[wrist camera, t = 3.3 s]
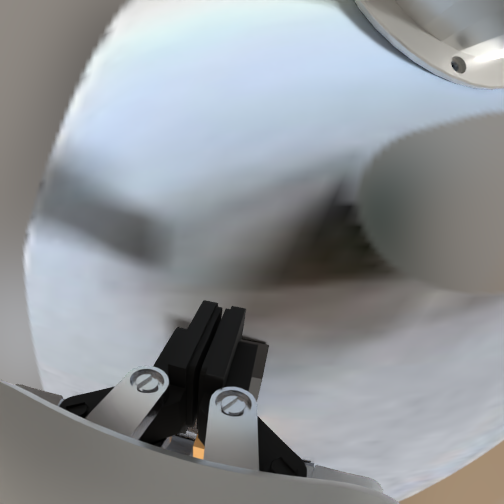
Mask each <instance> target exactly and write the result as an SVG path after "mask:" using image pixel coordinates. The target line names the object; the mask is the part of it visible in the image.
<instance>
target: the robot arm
mask: <svg viewBox="0 0 504 504" xmlns="http://www.w3.org/2000/svg"><path fill="white" fill-rule="evenodd" d="M354 1H355V3H356V4H357V6H358V8H359V9H360V11H361V12H362V13H363V14H364V15H365V16H366V18H367V19H368V20H369V21H370V23H371V24H372V25H373V26H374V28H375V29H376V30H377V31H378V32H380V33H381V34H382V35H383V36H384V37H385V38H386V39H387V40H388V41H389V42H390V43H391V44H392V45H393V46H394V47H395V48H397V49H398V50H399V51H401V52H402V53H403V54H405V55H406V56H407V57H408V58H410V59H411V60H412V61H413V62H415V63H417V64H418V65H420V66H422V67H424V68H425V69H427V70H428V71H430V72H432V73H433V74H435V75H437V76H440V77H442V78H444V79H446V80H449V81H451V82H453V83H455V84H459V85H463V86H467V87H471V88H474V89H489V90H493V89H501V88H504V0H354ZM451 63H452V64H453V65H454V67H455V70H454V69H453V67H452V65H451ZM245 313H246V309H244V308H239V307H234V306H232V307H231V309H226V310H225V312H224V314H223V317H222V319H221V316H222V308H221V307H218V303H215V302H210V301H205V300H204V301H203V302H202V304H201V306H200V307H199V309H198V311H197V313H196V315H195V316H194V318H193V320H192V322H191V324H190V325H189V327H188V329H183V328H179V327H178V328H176V329H175V331H174V333H173V334H172V336H171V338H170V339H169V341H168V342H167V344H166V346H165V347H164V349H163V351H162V352H161V354H160V356H159V357H158V359H157V361H156V362H155V364H154V366H140V367H137V368H134V369H132V370H131V371H130V372H128V374H127V375H126V376H125V377H124V378H123V379H122V380H121V381H120V382H119V383H118V384H117V385H116V386H115V387H111V388H107V389H103V390H99V391H94V392H90V393H86V394H81V395H76V396H72V397H69V398H67V399H63V397H62V396H61V395H57V394H53V393H49V392H45V391H42V390H38V389H34V388H31V387H27V386H24V385H19V384H16V385H14V384H12V383H9V382H7V381H4V380H1V379H0V504H400V503H399V502H398V501H396V500H395V499H393V498H391V497H389V496H387V495H385V494H383V489H382V487H381V486H380V484H379V483H378V482H377V481H375V480H374V479H371V478H369V477H364V476H359V475H355V474H350V473H346V472H342V471H338V470H334V469H330V468H326V467H322V466H319V465H316V466H315V467H312V466H308V465H305V463H304V462H303V460H302V459H301V458H300V457H299V456H298V455H297V454H296V453H294V452H293V451H292V450H291V449H290V448H289V447H288V446H287V445H286V444H285V443H284V442H283V441H282V440H281V439H280V438H279V437H278V436H277V435H276V434H275V433H274V432H273V431H272V430H271V429H270V428H269V427H268V426H267V425H266V424H265V423H264V422H263V421H262V420H261V419H260V418H259V417H258V416H257V403H256V399H255V398H254V397H253V395H252V394H251V393H249V388H250V383H251V379H252V374H253V369H254V364H255V359H256V354H257V349H258V344H253V343H247V342H242V341H241V338H242V332H243V326H244V319H245ZM196 419H197V429H198V439H199V440H200V441H201V443H202V444H203V445H204V446H205V449H204V458H203V459H199V458H195V457H191V456H188V455H184V454H180V453H177V452H173V451H170V450H167V449H166V448H167V447H168V445H169V444H170V442H171V439H172V436H173V435H176V434H179V433H184V434H185V433H186V431H187V428H188V427H192V428H193V426H194V424H195V421H196Z"/></svg>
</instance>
